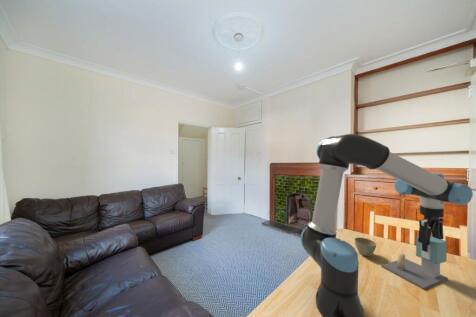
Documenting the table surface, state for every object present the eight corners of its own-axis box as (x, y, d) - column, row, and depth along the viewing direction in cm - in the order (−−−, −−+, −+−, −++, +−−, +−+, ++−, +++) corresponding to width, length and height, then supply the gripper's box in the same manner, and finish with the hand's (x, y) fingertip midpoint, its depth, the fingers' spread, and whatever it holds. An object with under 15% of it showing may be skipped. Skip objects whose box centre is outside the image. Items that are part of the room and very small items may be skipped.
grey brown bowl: (376, 261, 94) (376, 247, 93) (353, 254, 100) (353, 242, 100) (376, 252, 102) (376, 240, 101) (355, 247, 108) (355, 235, 107)
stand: (423, 289, 74) (424, 269, 74) (381, 266, 89) (381, 250, 89) (447, 279, 80) (448, 260, 80) (404, 259, 95) (404, 244, 95)
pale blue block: (437, 264, 78) (437, 244, 77) (416, 255, 84) (416, 237, 84) (446, 261, 80) (446, 241, 80) (425, 253, 87) (425, 234, 87)
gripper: (429, 211, 75) (429, 265, 75) (455, 206, 82) (454, 256, 82) (407, 206, 82) (407, 256, 82) (432, 202, 89) (432, 248, 89)
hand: (430, 256), depth 82 cm, fingers closed on pale blue block, 7 cm apart
